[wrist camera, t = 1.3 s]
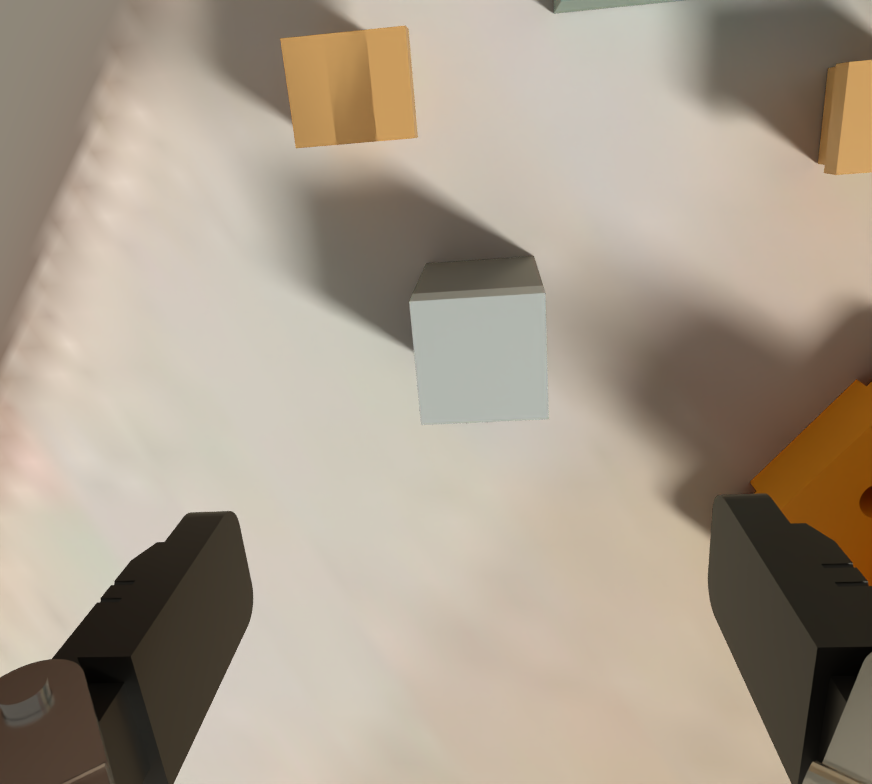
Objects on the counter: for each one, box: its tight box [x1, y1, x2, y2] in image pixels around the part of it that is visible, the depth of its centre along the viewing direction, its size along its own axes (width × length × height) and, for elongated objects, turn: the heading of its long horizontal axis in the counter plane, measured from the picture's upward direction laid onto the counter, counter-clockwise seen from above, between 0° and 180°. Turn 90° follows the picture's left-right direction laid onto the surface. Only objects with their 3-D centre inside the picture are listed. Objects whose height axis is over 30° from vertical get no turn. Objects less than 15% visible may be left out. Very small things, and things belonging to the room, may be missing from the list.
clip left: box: [280, 26, 418, 148], centre depth 22 cm, size 4×3×4 cm
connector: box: [409, 256, 549, 425], centre depth 24 cm, size 4×4×6 cm
